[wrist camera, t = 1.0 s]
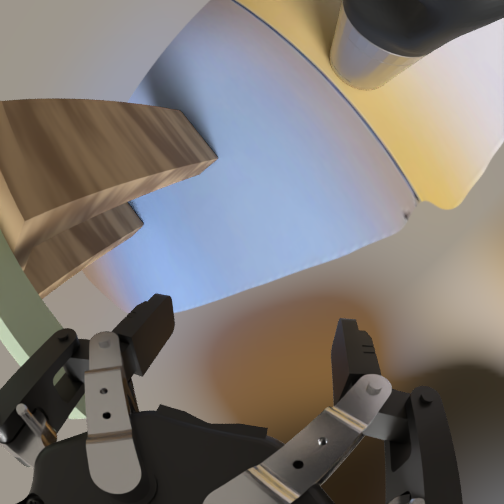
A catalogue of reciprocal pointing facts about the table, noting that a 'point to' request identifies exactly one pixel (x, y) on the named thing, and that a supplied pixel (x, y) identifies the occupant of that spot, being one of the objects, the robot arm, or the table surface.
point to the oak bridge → (84, 177)
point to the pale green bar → (25, 317)
